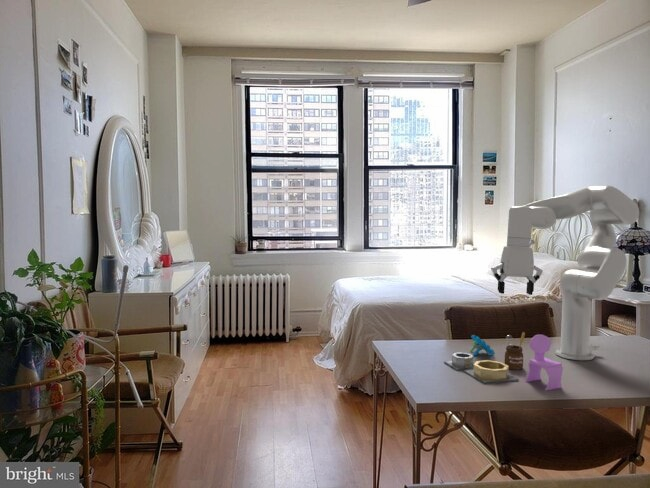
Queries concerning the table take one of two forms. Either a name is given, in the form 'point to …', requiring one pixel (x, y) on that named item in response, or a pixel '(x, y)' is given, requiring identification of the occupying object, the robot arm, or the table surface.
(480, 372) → the wide socket
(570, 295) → the robot arm
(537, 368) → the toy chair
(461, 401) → the table surface
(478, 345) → the gear
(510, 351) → the utensil holder
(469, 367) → the narrow socket
